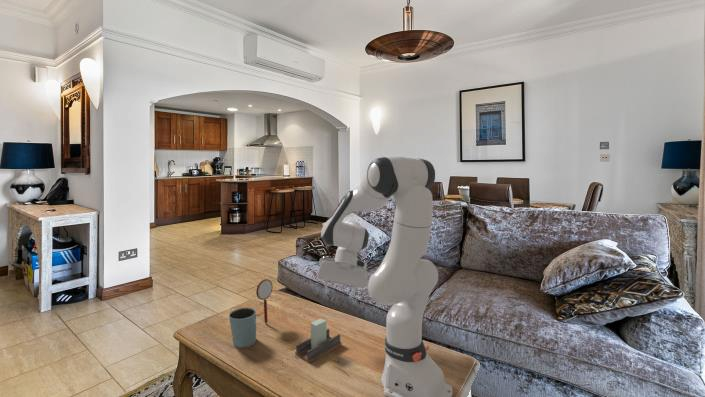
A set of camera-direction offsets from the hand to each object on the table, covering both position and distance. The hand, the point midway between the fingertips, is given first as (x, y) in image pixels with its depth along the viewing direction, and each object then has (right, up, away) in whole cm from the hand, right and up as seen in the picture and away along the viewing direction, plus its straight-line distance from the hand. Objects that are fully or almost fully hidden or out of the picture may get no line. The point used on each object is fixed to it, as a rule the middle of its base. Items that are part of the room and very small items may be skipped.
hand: (338, 295), depth 137 cm
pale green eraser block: (-7, -18, -6) cm, 20 cm away
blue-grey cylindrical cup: (-37, -18, 0) cm, 42 cm away
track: (-7, -19, -6) cm, 21 cm away
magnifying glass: (-32, -17, +15) cm, 39 cm away
